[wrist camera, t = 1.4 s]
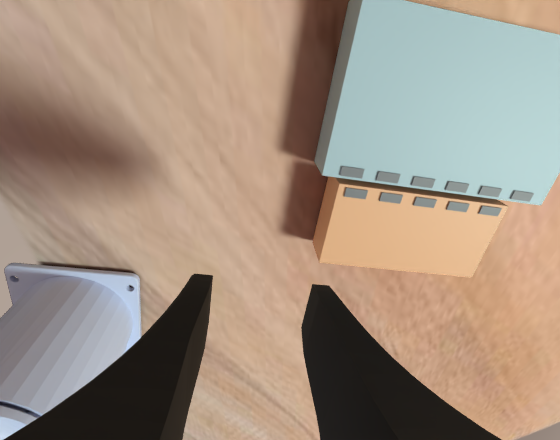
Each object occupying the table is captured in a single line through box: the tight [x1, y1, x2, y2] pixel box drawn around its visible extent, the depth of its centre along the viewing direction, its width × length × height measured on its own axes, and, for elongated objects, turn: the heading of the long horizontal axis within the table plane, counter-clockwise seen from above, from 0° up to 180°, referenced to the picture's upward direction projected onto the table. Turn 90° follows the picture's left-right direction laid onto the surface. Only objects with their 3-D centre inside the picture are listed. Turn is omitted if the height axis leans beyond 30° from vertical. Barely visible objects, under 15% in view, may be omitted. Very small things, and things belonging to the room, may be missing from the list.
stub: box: [313, 176, 508, 278], centre depth 20 cm, size 5×10×2 cm, turn 81°
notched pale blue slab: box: [314, 0, 560, 205], centre depth 17 cm, size 8×13×3 cm, turn 81°
